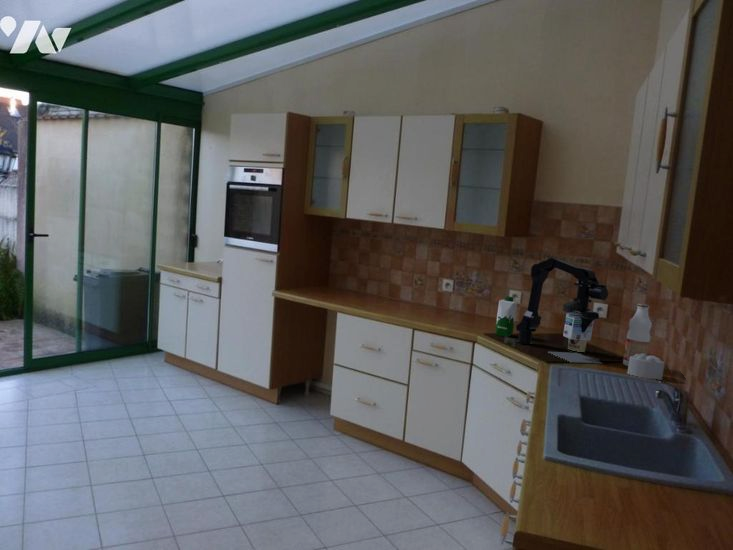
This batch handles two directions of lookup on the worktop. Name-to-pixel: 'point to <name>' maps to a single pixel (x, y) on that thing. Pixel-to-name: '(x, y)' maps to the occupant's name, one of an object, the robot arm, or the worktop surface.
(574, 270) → the robot arm
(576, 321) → the light bulb box
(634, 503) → the worktop surface
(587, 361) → the mat
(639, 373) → the lumpy-topped squat cylinder
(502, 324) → the milk carton
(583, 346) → the coffee cup
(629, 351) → the fruit juice
